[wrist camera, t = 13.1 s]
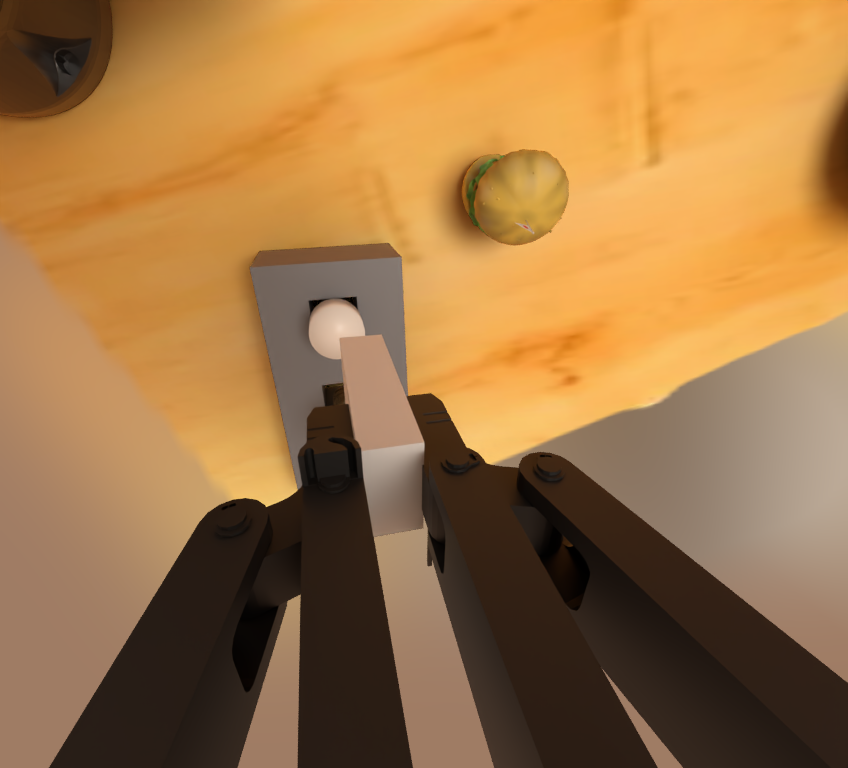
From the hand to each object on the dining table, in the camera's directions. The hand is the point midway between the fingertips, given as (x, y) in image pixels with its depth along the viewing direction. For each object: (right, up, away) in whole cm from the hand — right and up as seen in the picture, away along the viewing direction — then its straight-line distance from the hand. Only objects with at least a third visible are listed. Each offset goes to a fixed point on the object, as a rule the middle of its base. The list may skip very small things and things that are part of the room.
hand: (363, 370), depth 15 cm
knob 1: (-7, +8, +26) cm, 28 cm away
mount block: (-7, +1, +30) cm, 31 cm away
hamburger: (+8, +18, +26) cm, 32 cm away
